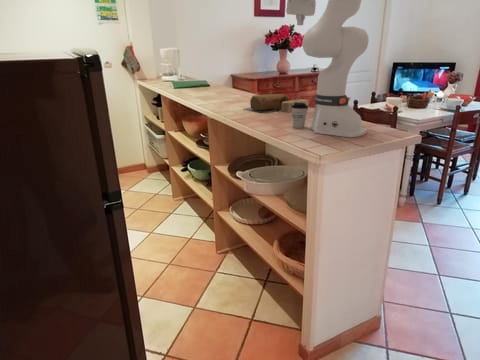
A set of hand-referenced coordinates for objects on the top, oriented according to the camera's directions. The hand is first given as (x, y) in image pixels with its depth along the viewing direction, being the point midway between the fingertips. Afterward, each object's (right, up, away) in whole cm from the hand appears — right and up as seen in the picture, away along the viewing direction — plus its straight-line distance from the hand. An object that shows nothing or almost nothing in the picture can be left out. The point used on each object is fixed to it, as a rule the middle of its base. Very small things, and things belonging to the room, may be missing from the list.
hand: (300, 25), depth 171 cm
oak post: (-7, -40, +6) cm, 41 cm away
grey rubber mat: (-15, -38, +16) cm, 44 cm away
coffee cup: (-5, -54, -24) cm, 60 cm away
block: (-22, -37, +6) cm, 44 cm away
